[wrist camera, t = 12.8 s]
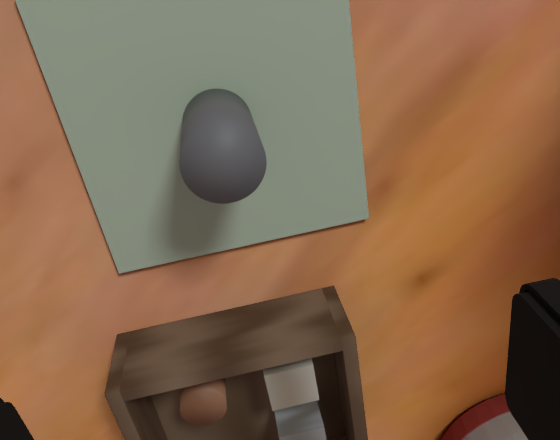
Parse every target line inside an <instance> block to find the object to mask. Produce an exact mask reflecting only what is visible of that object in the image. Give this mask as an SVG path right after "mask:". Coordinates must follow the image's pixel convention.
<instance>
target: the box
mask: <svg viewBox="0 0 560 440" xmlns="http://www.w3.org/2000/svg"><path fill="white" fill-rule="evenodd" d="M105 397H106V399H107V401H108V403H109V405H110V408H111V410H112V412H113V414H114V416H115V418H116V421H117V423H118V425H119V427H120V429H121V432H122V434H123V436H124V438H125V440H368V437H367V428H366V420H365V411H364V403H363V395H362V386H361V378H360V370H359V361H358V353H357V344H356V336H355V334H354V332H353V329H352V327H351V325H350V322H349V320H348V318H347V315H346V313H345V311H344V308H343V306H342V304H341V301H340V299H339V297H338V294H337V292H336V290H335V287H334V286H331V287H326V288H322V289H317V290H313V291H309V292H304V293H300V294H295V295H291V296H286V297H282V298H277V299H273V300H269V301H264V302H260V303H255V304H251V305H246V306H242V307H237V308H233V309H229V310H224V311H220V312H215V313H211V314H206V315H202V316H197V317H193V318H189V319H184V320H180V321H175V322H171V323H166V324H162V325H157V326H153V327H149V328H144V329H140V330H135V331H131V332H126V333H122V334H117V337H116V342H115V347H114V352H113V357H112V362H111V366H110V371H109V376H108V381H107V386H106V390H105Z"/></svg>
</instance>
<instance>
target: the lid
mask: <svg viewBox="0 0 560 440" xmlns="http://www.w3.org/2000/svg"><path fill="white" fill-rule="evenodd" d="M15 2H16V4H17V7H18V9H19V12H20V15H21V17H22V20H23V23H24V25H25V28H26V30H27V33H28V36H29V38H30V41H31V44H32V46H33V49H34V51H35V54H36V57H37V59H38V62H39V65H40V67H41V70H42V73H43V75H44V78H45V80H46V83H47V86H48V88H49V91H50V94H51V96H52V99H53V101H54V104H55V107H56V109H57V112H58V115H59V117H60V120H61V123H62V125H63V128H64V130H65V133H66V136H67V138H68V141H69V144H70V146H71V149H72V151H73V154H74V157H75V159H76V162H77V165H78V167H79V170H80V172H81V175H82V178H83V180H84V183H85V186H86V188H87V191H88V194H89V196H90V199H91V201H92V204H93V207H94V209H95V212H96V215H97V217H98V220H99V222H100V225H101V228H102V230H103V233H104V236H105V238H106V241H107V243H108V246H109V249H110V251H111V254H112V257H113V259H114V262H115V265H116V267H117V270H118V272H119V274H120V273H124V272H129V271H133V270H138V269H142V268H147V267H151V266H156V265H160V264H165V263H169V262H174V261H179V260H183V259H188V258H192V257H197V256H201V255H206V254H210V253H215V252H219V251H224V250H229V249H233V248H238V247H242V246H247V245H251V244H256V243H260V242H265V241H269V240H274V239H278V238H283V237H288V236H292V235H297V234H301V233H306V232H310V231H315V230H319V229H324V228H328V227H333V226H338V225H342V224H347V223H351V222H356V221H360V220H365V219H369V213H368V203H367V192H366V181H365V170H364V159H363V148H362V137H361V127H360V116H359V105H358V94H357V83H356V72H355V61H354V51H353V40H352V29H351V18H350V7H349V0H15Z"/></svg>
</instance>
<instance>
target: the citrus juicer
mask: <svg viewBox="0 0 560 440" xmlns="http://www.w3.org/2000/svg"><path fill="white" fill-rule="evenodd" d="M441 440H528V439H527V437H526V436H525V434H524V432H523V431H522V429H521V428H520V426H519V425H518V423H517V422H516V420H515V419H514V417H513V416H512V414H511V412H510V410H509V408H508V406H507V403H506V398H505V394H502V395H499V396H496V397H494V398H491V399H488V400H486V401H484V402H482V403H480V404H478V405H477V406H475V407H473V408H471V409H470V410H469V411H467V412H466V413H464V414H463V415H462V416H460V417H459V418H458V419H457V420H455V421H454V422H453V423H452V425H451V426H450V428H449V429H448V430H447V431H446V433H445V434H444V435H443V437H442V439H441Z"/></svg>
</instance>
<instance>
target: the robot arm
mask: <svg viewBox="0 0 560 440" xmlns="http://www.w3.org/2000/svg"><path fill="white" fill-rule="evenodd" d="M505 398H506V403H507V406H508V408H509V410H510V412H511V414H512V416H513V417H514V419H515V420H516V422H517V423H518V425H519V426H520V428H521V429H522V431H523V432H524V434H525V436H526V437H527V439H528V440H560V280H558V279H555V278H551V279H547V280H542V281H537V282H532V283H528V284H524V285H522V287H521V288H520V292H519V294H515V295H514V296H513V299H512V310H511V323H510V336H509V349H508V361H507V374H506V387H505ZM0 440H34V439H33V437H32V435H31V434H30V432H29V430H28V429H27V427H26V425H25V424H24V422H23V420H22V419H21V417H20V415H19V414H18V412H17V410H16V409H15V407H14V406H13V405H12V403H10V402H4V401H3V400H2V399H1V398H0Z"/></svg>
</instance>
